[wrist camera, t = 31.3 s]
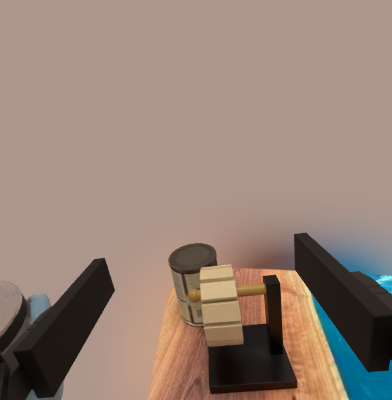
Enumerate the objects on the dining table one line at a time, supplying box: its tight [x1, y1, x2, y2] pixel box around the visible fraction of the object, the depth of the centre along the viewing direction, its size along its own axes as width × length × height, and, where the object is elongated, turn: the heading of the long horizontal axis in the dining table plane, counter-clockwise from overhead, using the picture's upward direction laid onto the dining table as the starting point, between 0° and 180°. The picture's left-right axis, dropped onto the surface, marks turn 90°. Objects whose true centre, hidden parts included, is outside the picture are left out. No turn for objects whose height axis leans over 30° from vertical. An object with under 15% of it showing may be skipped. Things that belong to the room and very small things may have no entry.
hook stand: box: [188, 275, 297, 394], centre depth 34 cm, size 14×10×16 cm
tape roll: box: [200, 264, 243, 347], centre depth 33 cm, size 5×11×11 cm, turn 178°
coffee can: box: [169, 243, 217, 327], centre depth 46 cm, size 10×10×14 cm
